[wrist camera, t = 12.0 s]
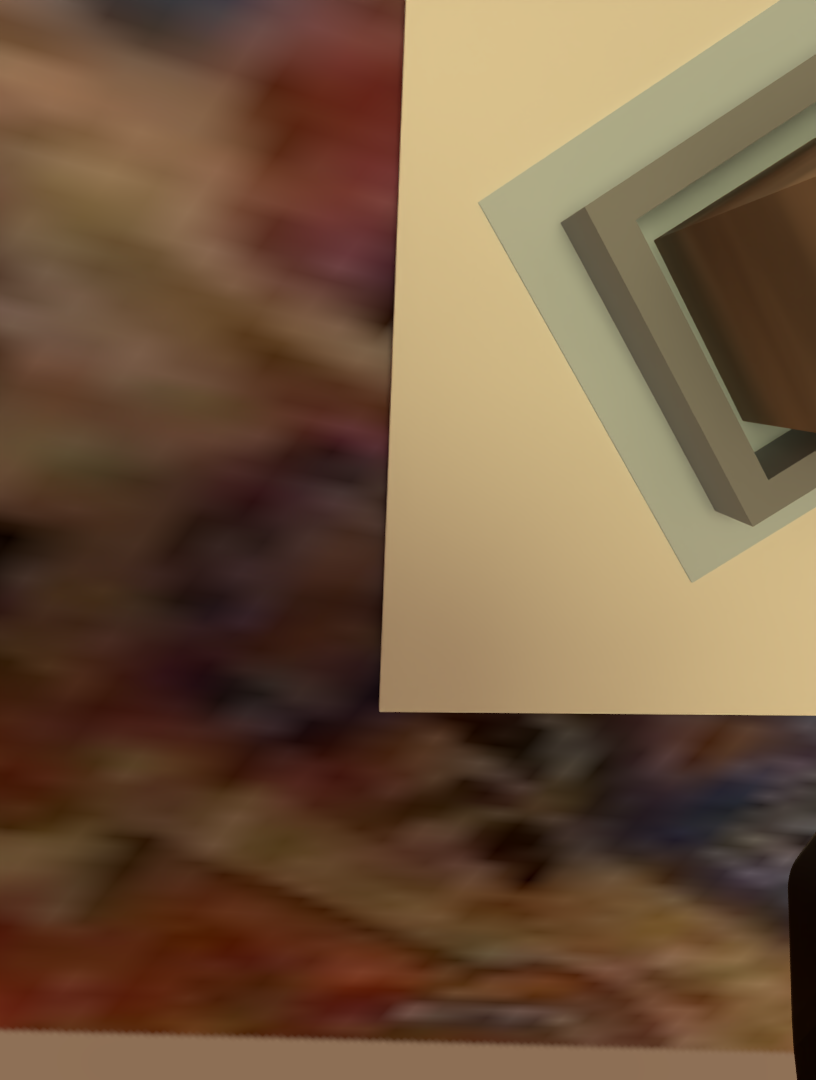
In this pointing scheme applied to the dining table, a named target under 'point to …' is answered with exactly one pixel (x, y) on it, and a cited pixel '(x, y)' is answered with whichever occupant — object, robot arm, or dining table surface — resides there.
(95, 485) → the dining table surface
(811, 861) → the robot arm
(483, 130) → the cream flat board
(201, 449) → the dining table surface
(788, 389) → the walnut pillar
